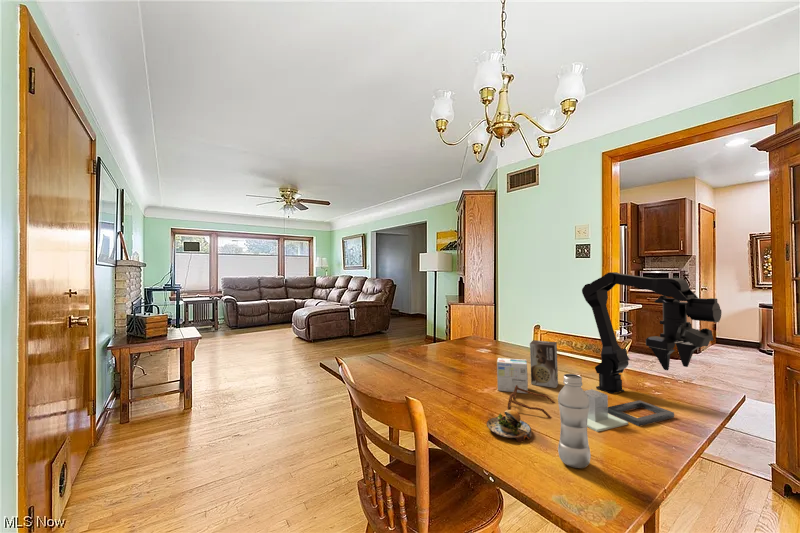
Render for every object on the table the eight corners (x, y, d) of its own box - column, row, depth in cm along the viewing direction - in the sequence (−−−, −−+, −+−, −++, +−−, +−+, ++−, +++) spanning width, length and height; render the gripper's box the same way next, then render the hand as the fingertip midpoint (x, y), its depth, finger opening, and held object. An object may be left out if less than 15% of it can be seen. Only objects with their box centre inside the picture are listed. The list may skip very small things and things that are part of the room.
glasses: (514, 397, 116) (514, 382, 116) (555, 404, 110) (555, 389, 110) (506, 411, 105) (506, 395, 105) (551, 419, 98) (551, 403, 98)
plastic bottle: (552, 456, 78) (550, 372, 78) (579, 455, 79) (577, 371, 79) (568, 473, 72) (566, 381, 72) (598, 471, 72) (595, 380, 73)
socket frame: (606, 412, 102) (605, 407, 102) (639, 404, 107) (639, 400, 107) (639, 426, 93) (638, 421, 93) (674, 417, 98) (674, 412, 98)
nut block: (580, 414, 99) (579, 391, 99) (592, 412, 101) (592, 389, 101) (595, 422, 94) (594, 397, 94) (608, 419, 96) (607, 395, 96)
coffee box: (558, 383, 128) (557, 341, 128) (556, 388, 123) (555, 345, 123) (533, 379, 133) (532, 339, 133) (530, 384, 128) (529, 342, 128)
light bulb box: (527, 387, 124) (527, 359, 124) (528, 394, 118) (527, 363, 118) (498, 384, 128) (497, 357, 128) (497, 391, 121) (496, 361, 121)
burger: (482, 422, 97) (482, 397, 97) (522, 422, 97) (522, 396, 97) (492, 443, 85) (492, 414, 85) (539, 443, 85) (538, 414, 85)
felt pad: (561, 414, 101) (561, 412, 101) (591, 408, 105) (591, 406, 105) (597, 431, 90) (597, 429, 90) (628, 424, 94) (628, 422, 94)
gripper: (685, 324, 92) (686, 380, 92) (725, 319, 99) (726, 372, 98) (643, 318, 103) (645, 369, 103) (682, 315, 109) (684, 362, 109)
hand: (675, 368), depth 103 cm, fingers open, 9 cm apart
